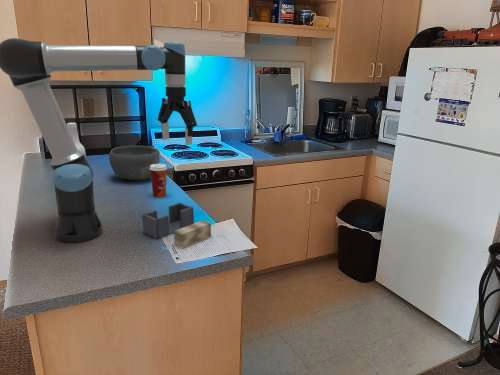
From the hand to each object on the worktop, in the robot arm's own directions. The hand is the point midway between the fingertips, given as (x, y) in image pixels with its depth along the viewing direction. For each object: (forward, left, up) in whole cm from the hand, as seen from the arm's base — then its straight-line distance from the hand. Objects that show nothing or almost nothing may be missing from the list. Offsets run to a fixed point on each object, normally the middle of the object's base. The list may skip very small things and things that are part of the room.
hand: (177, 142), depth 150 cm
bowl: (+13, +49, -28) cm, 58 cm away
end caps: (-15, -13, -28) cm, 35 cm away
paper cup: (+5, +19, -28) cm, 34 cm away
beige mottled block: (-15, -26, -28) cm, 41 cm away
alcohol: (-14, +56, -28) cm, 64 cm away
